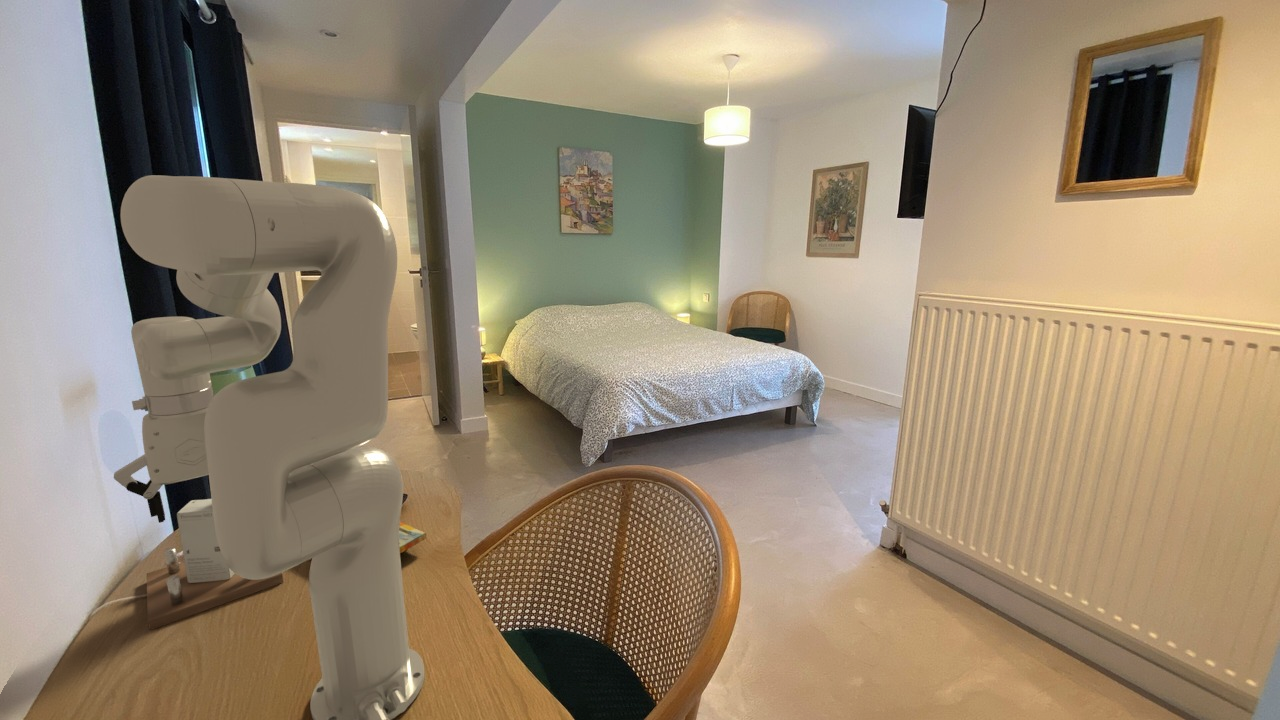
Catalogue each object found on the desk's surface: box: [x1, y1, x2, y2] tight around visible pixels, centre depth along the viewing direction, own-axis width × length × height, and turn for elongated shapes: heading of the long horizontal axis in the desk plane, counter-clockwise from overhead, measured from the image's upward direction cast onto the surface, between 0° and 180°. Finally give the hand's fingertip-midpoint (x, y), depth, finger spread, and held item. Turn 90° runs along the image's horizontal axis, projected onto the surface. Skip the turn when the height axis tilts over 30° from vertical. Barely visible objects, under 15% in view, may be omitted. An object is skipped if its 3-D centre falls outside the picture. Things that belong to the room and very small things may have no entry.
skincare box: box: [176, 498, 235, 583], centre depth 84 cm, size 6×4×12 cm
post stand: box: [146, 546, 284, 631], centre depth 85 cm, size 14×16×6 cm
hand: (203, 507), depth 82 cm, fingers open, 9 cm apart
